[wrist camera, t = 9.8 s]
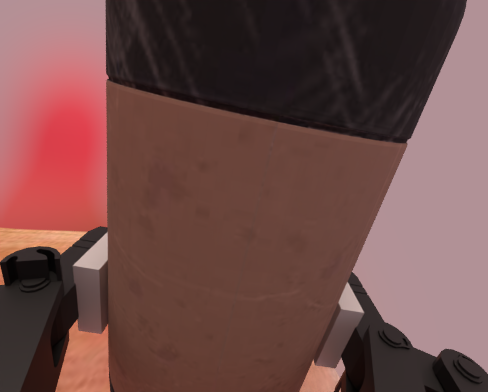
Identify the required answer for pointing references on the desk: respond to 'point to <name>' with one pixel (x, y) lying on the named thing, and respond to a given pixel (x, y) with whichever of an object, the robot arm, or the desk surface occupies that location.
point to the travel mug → (250, 175)
